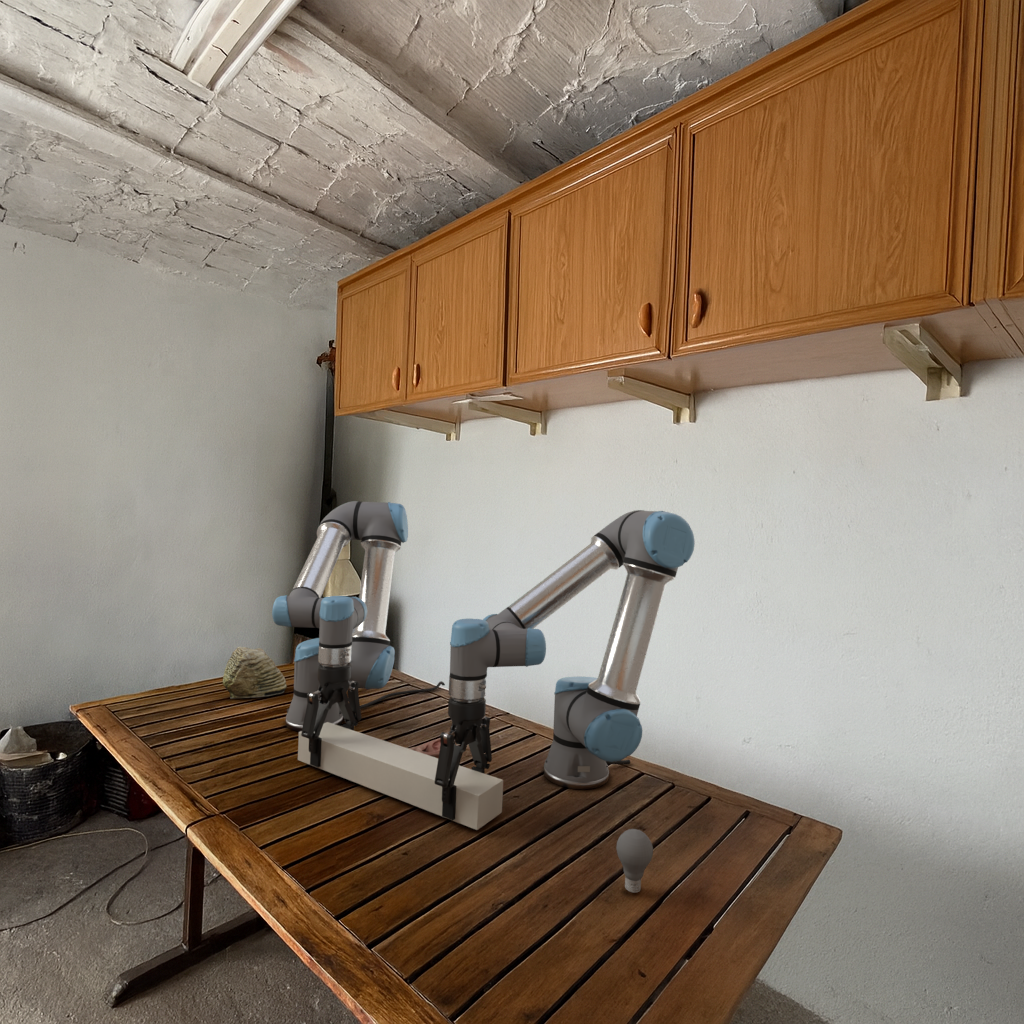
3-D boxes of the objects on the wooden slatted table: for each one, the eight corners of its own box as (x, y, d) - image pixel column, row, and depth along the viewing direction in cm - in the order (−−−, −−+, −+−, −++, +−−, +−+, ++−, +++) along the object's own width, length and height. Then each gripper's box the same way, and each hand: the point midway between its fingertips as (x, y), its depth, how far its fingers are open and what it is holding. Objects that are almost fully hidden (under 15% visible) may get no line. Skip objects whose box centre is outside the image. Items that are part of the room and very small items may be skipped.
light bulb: (610, 879, 108) (613, 822, 108) (644, 879, 109) (647, 822, 109) (619, 902, 102) (622, 840, 102) (655, 901, 103) (658, 840, 103)
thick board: (297, 760, 149) (298, 731, 148) (326, 748, 156) (327, 721, 156) (477, 830, 121) (478, 795, 121) (502, 812, 128) (503, 779, 128)
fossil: (218, 695, 195) (220, 647, 195) (278, 685, 208) (279, 640, 207) (228, 703, 189) (230, 653, 188) (289, 692, 201) (290, 645, 201)
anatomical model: (390, 746, 152) (408, 729, 163) (390, 762, 152) (407, 745, 163) (443, 753, 149) (457, 735, 160) (443, 770, 149) (457, 751, 160)
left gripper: (308, 675, 137) (304, 779, 138) (379, 657, 155) (375, 748, 156) (286, 669, 141) (282, 769, 142) (357, 652, 159) (354, 741, 160)
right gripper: (448, 715, 116) (444, 836, 117) (511, 688, 134) (507, 793, 135) (417, 706, 120) (413, 824, 121) (482, 681, 139) (478, 784, 139)
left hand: (331, 758), depth 149 cm, fingers closed on thick board, 9 cm apart
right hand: (463, 808), depth 128 cm, fingers closed on thick board, 9 cm apart
